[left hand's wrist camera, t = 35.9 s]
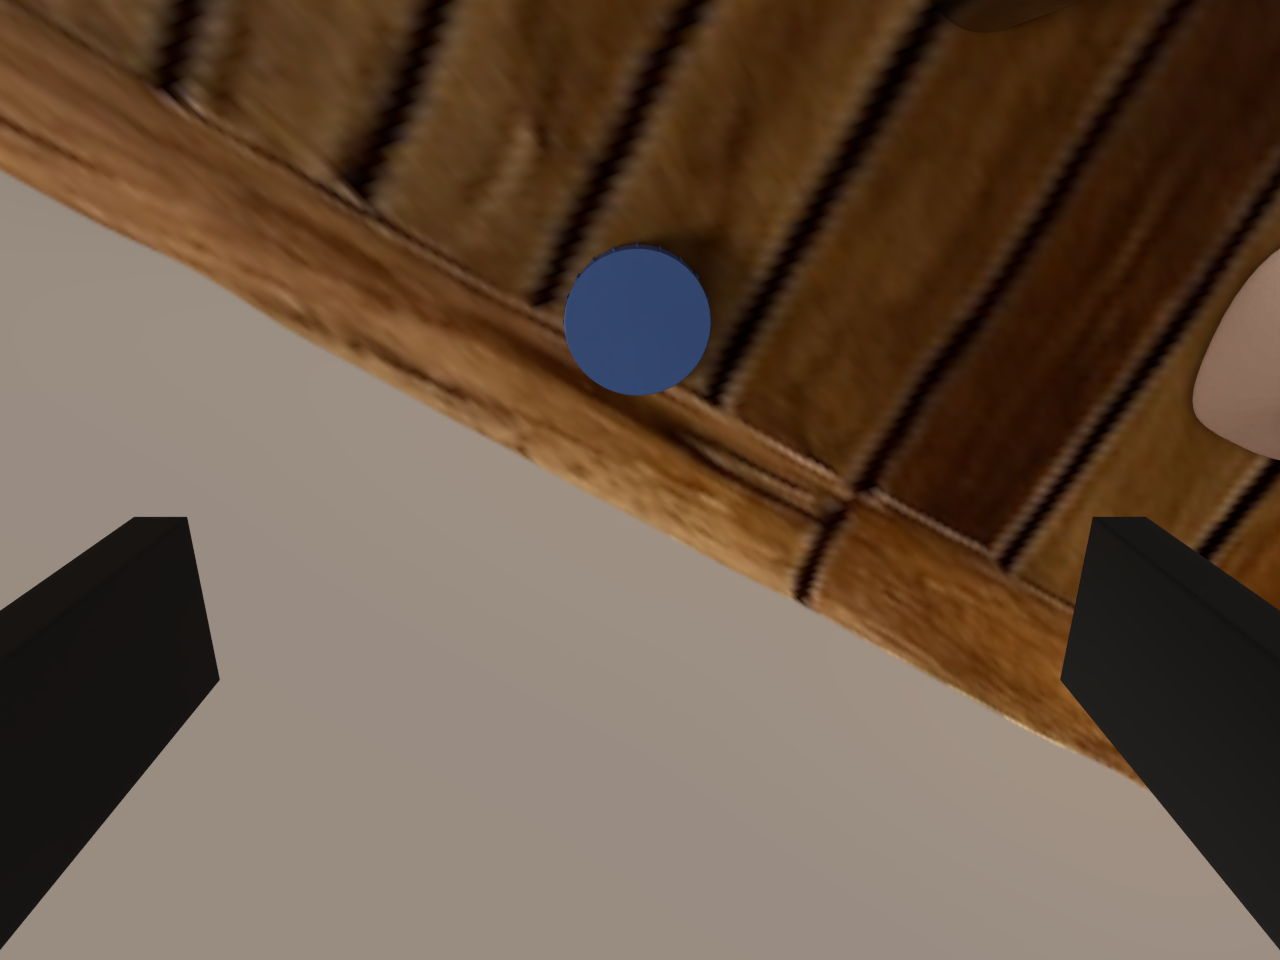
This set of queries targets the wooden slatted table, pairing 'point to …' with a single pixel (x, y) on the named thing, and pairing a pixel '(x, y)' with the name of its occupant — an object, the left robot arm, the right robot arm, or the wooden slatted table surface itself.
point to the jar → (997, 12)
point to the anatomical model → (1245, 367)
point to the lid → (637, 319)
